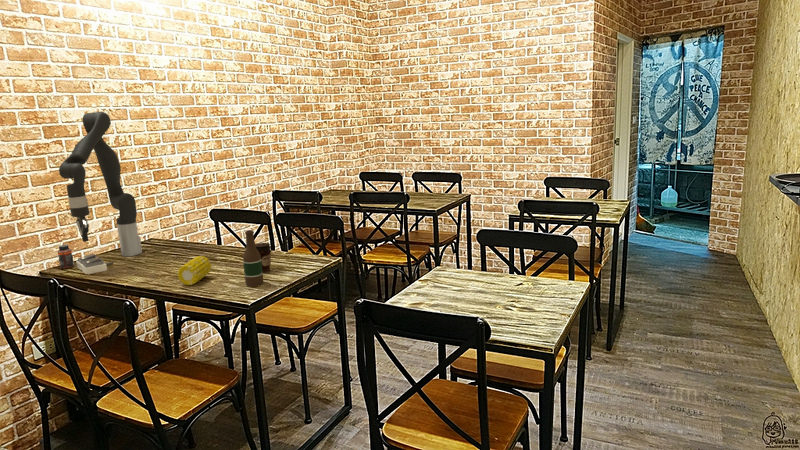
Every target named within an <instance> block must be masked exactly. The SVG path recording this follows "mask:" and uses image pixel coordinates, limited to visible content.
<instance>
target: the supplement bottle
mask: <svg viewBox="0 0 800 450" xmlns="http://www.w3.org/2000/svg"><path fill="white" fill-rule="evenodd" d="M69 247H70V246H69V244H62V245H59V246H58V251H57V257H58V260H59V261H58V262H59V266H60V269H62V268H63V270H65V268H68V269H72V268H74V267H75V262H74V257H73V256H74V255H73V252H72V248H69ZM73 266H74V267H73ZM71 267H72V268H71Z"/></svg>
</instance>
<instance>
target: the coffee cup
mask: <svg viewBox="0 0 800 450" xmlns="http://www.w3.org/2000/svg"><path fill="white" fill-rule="evenodd" d="M255 246H256V249H257V250H258V251H259V253H260V255H261V261H262V271H263V274H264V273H269V272H270V271H271V265H272V264H271V263H272V262H271V261H272V259H271V258H272V254H271V248H272V247H271V243H269V242H260V243H258V242H257V243H255Z"/></svg>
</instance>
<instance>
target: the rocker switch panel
mask: <svg viewBox="0 0 800 450" xmlns="http://www.w3.org/2000/svg"><path fill="white" fill-rule="evenodd" d="M94 255H95V256H96V257H98V256H97V255H96V254H94ZM80 258H81V257H78V258H77V260H76V261H75V262H76V264H75V265H76V267H77V269H79V270H80V271H81V270H82V271H81V272H83V273H84V274H85V275H86V274H88V275H92V274H96V273H100V272H101V273H102V272H105V271H108V266H111V265H114V262H113V261H112V262H107V263H105V262H104V260H103V259H102V258H100V259H101V261H99V262H95V263H90V264H85V262H86V261H88V260H91V259H93V258H91V259H86V260H80Z"/></svg>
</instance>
